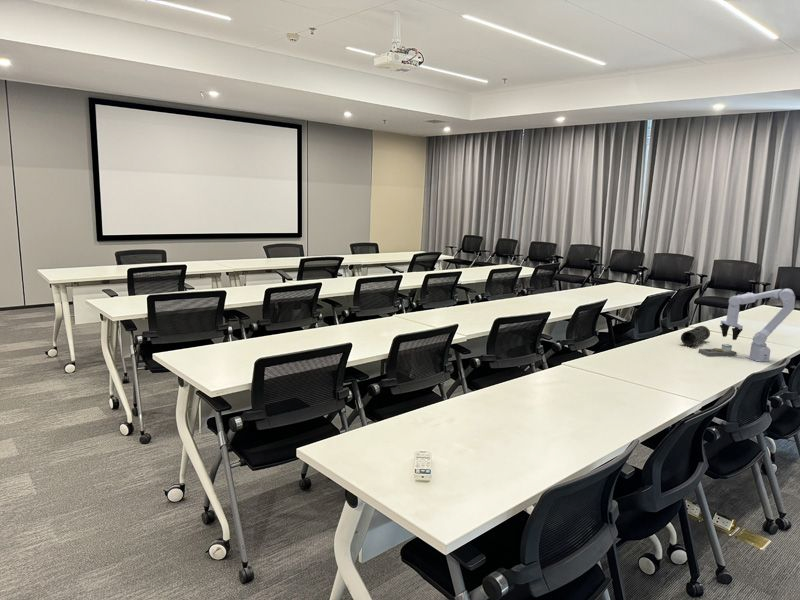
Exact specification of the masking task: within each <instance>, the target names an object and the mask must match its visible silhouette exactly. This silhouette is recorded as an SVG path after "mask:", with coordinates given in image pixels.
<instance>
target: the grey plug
mask: <svg viewBox="0 0 800 600" xmlns="http://www.w3.org/2000/svg"><path fill="white" fill-rule="evenodd" d="M732 348H733V345H732V344H730V343H722V344H721V348H720V349H721V350H723V351H726V352H731V350H733V349H732Z"/></svg>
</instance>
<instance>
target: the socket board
mask: <svg viewBox="0 0 800 600" xmlns="http://www.w3.org/2000/svg"><path fill="white" fill-rule="evenodd" d="M697 352H698V354H700V353H701V355H704V356H707V357H736V356H737V353H738V351H734V350H733V349H731V352H726V351H723V350H721V348H698V351H697ZM735 355H736V356H735Z"/></svg>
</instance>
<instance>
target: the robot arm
mask: <svg viewBox="0 0 800 600" xmlns="http://www.w3.org/2000/svg"><path fill="white" fill-rule="evenodd" d="M766 298H774V299H780V301H781V302H782V308H781V309H780V310H779V312H777V313H776V315H775V316H774V317H773V318H772V319H771V320H770V321H769V322H768V323H767V324H766V325H765V326H764V327H763V328H762V329H761V330H760V331H758V332H756V333H755V334H754V335H753V336H752V342H751V344H750V352H749V356H745V358H747V359H749V358H750V360H753V361H755V362H759V363H760V362H761V363H763V362H766V363H767V362H769V363H770V356H771V348H770V347H768V345H767V343H766V341H767V339H768V337H769V336H770V335H771V334H772V333H773V332H774V331H775V330H776V328H777V327H778V326H780V324H782V322H783V321H785V319H786V318H787V317H788V316H789V315H790V314H791V313H792V312H793V310H795V303H796V295H795V292H794V291H793V289H791V288H778V289H773V290H768V291H763V292H759V293H753V292H749V291H748V292H746V293H744V294H740V293H739V294H737V295H733V296H731V297H730V298H729V299H728V308H727V314H726V319H725V320H720V324H719V328H720V330H721V335H722V337H723V338H726V337H727V336H728V331H729V328H731V327H732V328H731V330H732V331H731V332H732V341H737V340H738V337H739V335H740V334H741V333H742V331H743V325H741V324H739V323H738V321H739V314H740V305H747V304H752V303H753V304H754V303H755V302H756V301H757V300H761V299H766Z"/></svg>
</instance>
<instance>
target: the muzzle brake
mask: <svg viewBox="0 0 800 600" xmlns="http://www.w3.org/2000/svg"><path fill="white" fill-rule="evenodd" d="M710 335H711V331H710V329H709V327H707V326H705V325H698V326H695V328H692V329H689V330H687V331H685V332H683V333H682V334H681V336H680V340H681V342H682V343H683V345H686V347H688V348H689V347H691V346H693V345H696V344H697V343H699V344H700V342H703V341H706V340H708V339H709V338H710Z"/></svg>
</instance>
